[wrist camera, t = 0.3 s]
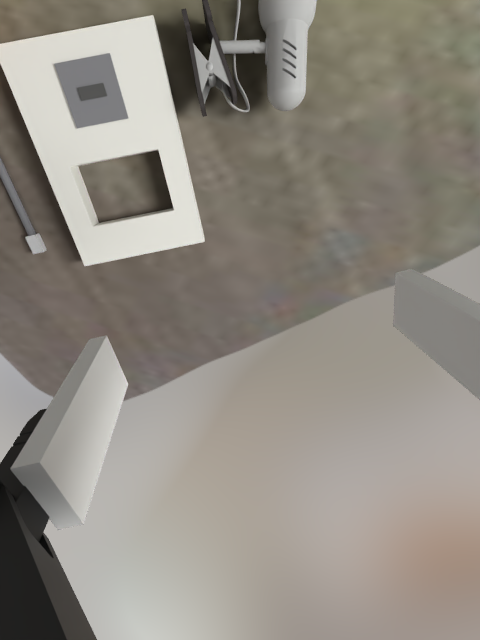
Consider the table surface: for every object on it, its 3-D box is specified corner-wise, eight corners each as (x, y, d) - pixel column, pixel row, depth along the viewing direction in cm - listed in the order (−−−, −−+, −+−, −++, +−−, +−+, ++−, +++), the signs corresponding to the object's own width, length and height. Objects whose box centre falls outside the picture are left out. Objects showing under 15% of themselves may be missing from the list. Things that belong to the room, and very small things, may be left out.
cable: (-43, 86, 30) (-50, 83, 29) (-30, 83, 30) (-37, 81, 29) (36, 252, 38) (33, 254, 37) (46, 250, 38) (43, 251, 37)
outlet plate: (7, 53, 30) (-10, 43, 27) (156, 25, 30) (152, 13, 27) (91, 260, 39) (83, 267, 36) (204, 237, 39) (204, 242, 37)
